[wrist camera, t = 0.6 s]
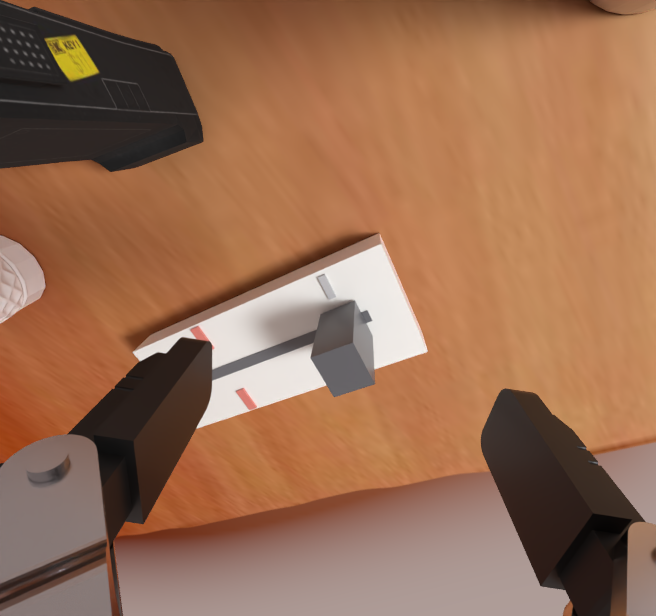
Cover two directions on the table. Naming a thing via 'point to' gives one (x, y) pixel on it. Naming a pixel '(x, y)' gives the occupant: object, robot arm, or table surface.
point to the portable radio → (87, 95)
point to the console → (294, 328)
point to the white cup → (18, 278)
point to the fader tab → (344, 350)
